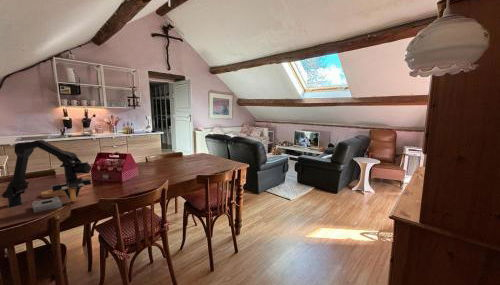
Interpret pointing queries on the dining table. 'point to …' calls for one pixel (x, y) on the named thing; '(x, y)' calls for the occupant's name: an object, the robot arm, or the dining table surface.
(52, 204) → the grey slotted block
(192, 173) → the dining table surface
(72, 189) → the wedge pin
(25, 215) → the dining table surface
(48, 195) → the wooden mallet
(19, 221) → the dining table surface
